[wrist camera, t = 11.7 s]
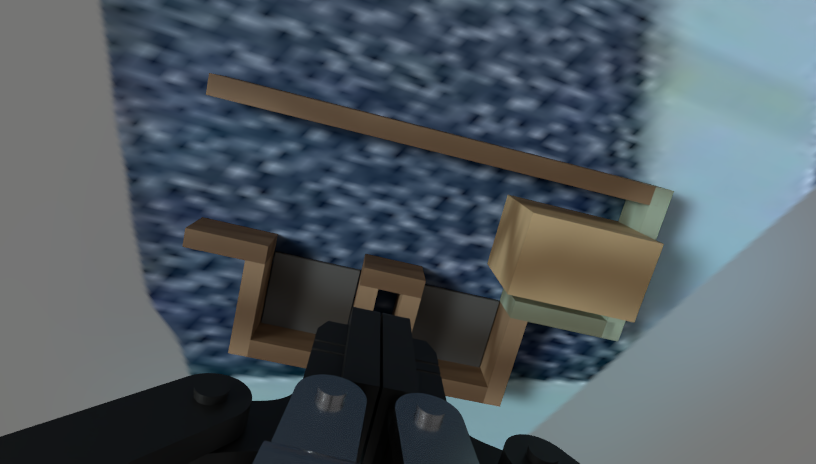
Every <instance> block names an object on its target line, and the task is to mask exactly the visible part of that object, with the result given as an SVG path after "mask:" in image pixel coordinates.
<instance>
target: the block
mask: <svg viewBox="0 0 816 464" xmlns="http://www.w3.org/2000/svg"><path fill="white" fill-rule="evenodd" d="M663 245H664V244H662V243H660V242H658V241H656V240H654V239H652V238H650V237H648V236H646V235H644V234H642V233H640V232H638V231H636V230H634V229H632V228H630V227H628V226H626V225H624V224H622V223H620V222H618V221H614V220H609V219H605V218H601V217H597V216H593V215H589V214H585V213H581V212H577V211H573V210H569V209H564V208H560V207H556V206H552V205H548V204H544V203H540V202H536V201H532V200H528V199H523V198H519V197H515V196H511V195H508V196H507V200H506V203H505V206H504V210H503V213H502V216H501V220H500V223H499V227H498V230H497V233H496V237H495V240H494V243H493V247H492V250H491V253H490V257H489V260H488V263H487V264H488V265H489V267H490V268H491V270H492V271H493V273H494V274H495V276H496V277H497V279H498V280H499V282H500V283H501V285H502V286H503V288H504V289H505V291H506V293H507V294H508V295H513V296H517V297H522V298H526V299H531V300H535V301H540V302H544V303H549V304H553V305H558V306H562V307H567V308H571V309H576V310H580V311H585V312H589V313H594V314H598V315H603V316H607V317H612V318H616V319H621V320H625V321H630V322H635V319H636V317H637V314H638V311H639V309H640V306H641V303H642V301H643V298H644V295H645V293H646V290H647V287H648V285H649V282H650V280H651V277H652V274H653V272H654V269H655V266H656V264H657V261H658V258H659V256H660V253H661V250H662V248H663Z"/></svg>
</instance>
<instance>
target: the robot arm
mask: <svg viewBox="0 0 816 464" xmlns="http://www.w3.org/2000/svg"><path fill="white" fill-rule="evenodd" d="M438 365H439V364H438V359H437V354H436V352H435V351H434V350H433V348H432V347H431V346H430V345H429V344H428V343H427V341H423V340H418V339H414V338H412V331H411V323H410V319H409V318H404V317H400V316H395V315H390V314H386V313H382V314H381V317H380V312H376V311H371V310H367V309H362V308H357V307H352V311H351V315H350V319H349V323H348V325H347V324H342V323H337V322H332V321H327V322H326V323H324V324H323V325H321V326H320V327H318V328H317V332H316V335H315V339H314V342H313V346H312V350H311V353H310V356H309V360H308V364H307V367H306V371H305V374H304V378H303V379H302V380H301V381H300V382H298V384H297V385H296V387H295V389H294V392H293V394H291V395H290V396H287V397H285V398H281V399H277V400H269V401H252V394H251V391H250V389H249V388H248V387H247V386H246V385H245V384H244V383H243V382H241V381H240V380H238V379H236V378H233V377H230V376H227V375H222V374H215V373H204V374H196V375H191V376H187V377H184V378H182V379H178V380H175V381H172V382H169V383H166V384H163V385H160V386H157V387H153V388H150V389H147V390H144V391H141V392H138V393H135V394H132V395H129V396H125V397H123V398H119V399H116V400H113V401H110V402H107V403H104V404H101V405H98V406H94V407H91V408H88V409H85V410H82V411H79V412H76V413H73V414H70V415H66V416H63V417H61V418H57V419H54V420H51V421H48V422H45V423H42V424H39V425H35V426H32V427H29V428H26V429H23V430H20V431H17V432H14V433H11V434H7V435H4V436H1V437H0V464H580V463H578V462H577V461H576V460H574V459H573V458H572V457H570V456H569V455H567V454H566V453H565V452H564V451H563V450H561V449H560V448H558V447H557V446H555V445H554V444H552V443H550V442H548V441H546V440H544V439H541V438H539V437H535V436H532V435H524V434H519V435H514V436H511V437H509V438H508V439H507V440H506V442H505V445H504V447H503V450H500V449H498V448H495V447H493V446H490V445H488V444H486V443H483V442H481V441H479V440H477V439H475V438H473V437H471V436H469V434H468V431H467V428H466V425H465V423H464V420H463V418H462V416H461V414H460V413H459V411H458V410H457V409H456V408H455V407H454V406H452V405H451V404H450V403H448V402H447V401H446V397H445V392H444V387H443V383H442V378H441V376H440V374H441V373H440V368H439V366H438Z"/></svg>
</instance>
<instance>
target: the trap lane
mask: <svg viewBox="0 0 816 464" xmlns="http://www.w3.org/2000/svg"><path fill="white" fill-rule="evenodd" d="M206 95H210V96H214V97H218V98H222V99H226V100H230V101H234V102H238V103H242V104H246V105H250V106H254V107H258V108H262V109H266V110H270V111H274V112H278V113H282V114H286V115H290V116H294V117H298V118H302V119H306V120H310V121H314V122H318V123H322V124H326V125H330V126H334V127H338V128H342V129H346V130H350V131H354V132H358V133H362V134H366V135H370V136H374V137H378V138H382V139H386V140H390V141H394V142H398V143H402V144H406V145H410V146H414V147H418V148H422V149H426V150H430V151H434V152H438V153H442V154H446V155H450V156H454V157H458V158H462V159H466V160H470V161H474V162H478V163H482V164H486V165H490V166H494V167H498V168H502V169H506V170H510V171H514V172H518V173H522V174H526V175H530V176H534V177H538V178H542V179H546V180H550V181H554V182H558V183H562V184H566V185H570V186H574V187H578V188H582V189H586V190H590V191H594V192H598V193H602V194H606V195H610V196H614V197H618V198H622V199H626V201H625V204H624V207H623V210H622V213H621V216H620V218H619V221H618V222H620V223H622V224H624V225H626V226H628V227H630V228H632V229H634V230H636V231H638V232H640V233H642V234H644V235H646V236H648V237H650V238H652V239H654V240H656V238H657V235H658V233H659V230H660V227H661V225H662V222H663V219H664V217H665V214H666V211H667V209H668V206H669V203H670V201H671V198H672V195H673V193H674V191H671V190H668V189H664V188H661V187H658V186H654V185H651V184H647V183H643V182H639V181H635V180H631V179H628V178H624V177H620V176H616V175H612V174H608V173H604V172H600V171H596V170H592V169H588V168H584V167H580V166H576V165H573V164H569V163H565V162H561V161H557V160H553V159H549V158H545V157H541V156H537V155H533V154H529V153H525V152H521V151H517V150H514V149H510V148H506V147H502V146H498V145H494V144H490V143H486V142H482V141H478V140H474V139H470V138H466V137H462V136H459V135H455V134H451V133H447V132H443V131H439V130H435V129H431V128H427V127H423V126H419V125H415V124H411V123H407V122H404V121H400V120H396V119H392V118H388V117H384V116H380V115H376V114H372V113H368V112H364V111H360V110H356V109H352V108H349V107H345V106H341V105H337V104H333V103H329V102H325V101H321V100H317V99H313V98H309V97H305V96H301V95H297V94H293V93H290V92H286V91H282V90H278V89H274V88H270V87H266V86H262V85H258V84H254V83H250V82H246V81H242V80H238V79H235V78H231V77H227V76H222V75H217V74H211V73H209V78H208V84H207V91H206ZM277 237H278V234H275V233H270V232H266V231H261V230H257V229H252V228H248V227H243V226H239V225H234V224H230V223H226V222H221V221H217V220H212V219H208V218H203V217H202V218H201V219H199V220H197V221H196V222H194V223H193V224H191V225H189V226H188V227H186V228H185V234H184V241H183V247H187V248H191V249H196V250H200V251H205V252H210V253H214V254H219V255H223V256H228V257H233V258H237V259H242V260H245V265H244V270H243V275H242V281H241V286H240V292H239V297H238V303H237V308H236V314H235V319H234V324H233V330H232V335H231V341H230V346H229V352H228V353H231V354H236V355H241V356H246V357H251V358H256V359H261V360H267V361H272V362H277V363H282V364H287V365H292V366H297V367H302V368H306V367H307V364H308V360H309V356H310V353H311V350H312V346H313V342H314V339H315V335H316V332H317V328H318V327H320V326H321V325H323V324H324V323H326V322H327V321H332V322H337V323H342V324H348V319H349V315H350V311H351V307H352V303H353V299H354V294H355V290H356V286H357V282H358V278H359V273H360V270H358V269H354V268H349V267H345V266H340V265H336V264H331V263H327V262H322V261H318V260H313V259H309V258H304V257H299V256H295V255H290V254H286V253H281V252H277V251H276V252H275V247H276V242H277ZM274 252H275V256H274ZM273 257H274V261H273ZM272 262H273V267H272ZM271 267H272V272H271ZM270 272H271V277H270ZM269 277H270V282H269ZM268 282H269V287H268ZM425 282H426V280H425V276H424V272H423V268H422V266H417V265H413V264H408V263H404V262H399V261H395V260H391V259H386V258H382V257H377V256H373V255H368V254H365V258H364V262H363V267H362V271H361V275H360V279H359V283H358V287H357V292H356V296H355V300H354V304H353V307H357V308H362V309H367V310H371V311H373V309H374V305H375V301H376V297H377V293H378V289H380V290H384V291H389V292H394V293H397V297H396V301H395V304H394V308H393V312H392V315H395V316H400V317H404V318H409V319H410V323H411V331H412V338H414V339H418V340H423V341H427V343H428V344H429V345H430V346H431V347H432V348H433V350H434V351H435V352H436V354H437V359H438V364H439V365H438V366H439V368H440V373H441V374H440V376H441V378H442V383H443V387H444V392H445V396H449V397H454V398H459V399H464V400H469V401H474V402H479V403H484V404H489V405H494V406H500V404H501V401H502V398H503V395H504V392H505V389H506V386H507V383H508V380H509V377H510V374H511V371H512V368H513V365H514V361H515V358H516V355H517V352H518V349H519V346H520V343H521V340H522V337H523V334H524V331H525V328H526V325H527V322H532V323H536V324H541V325H545V326H550V327H555V328H559V329H564V330H568V331H573V332H578V333H582V334H587V335H591V336H596V337H601V338H605V339H610V340H614V341H618V340H619V337H620V335H621V332H622V329H623V327H624V324H625V320H621V319H616V318H612V317H607V316H603V315H598V314H594V313H589V312H585V311H580V310H576V309H571V308H567V307H562V306H558V305H553V304H549V303H544V302H540V301H535V300H531V299H526V298H522V297H517V296H513V295H508V294H507V293H506V291H505V289H504V288H503V292H502V295H501V298H500V301H498V300H494V299H490V298H485V297H481V296H476V295H472V294H467V293H463V292H458V291H454V290H449V289H445V288H440V287H435V286H431V285H426V284H425ZM267 287H268V292H267ZM266 293H267V297H266ZM265 298H266V302H265ZM264 303H265V307H264ZM263 308H264V312H263ZM262 313H263V317H262ZM261 318H262V321H261Z"/></svg>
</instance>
